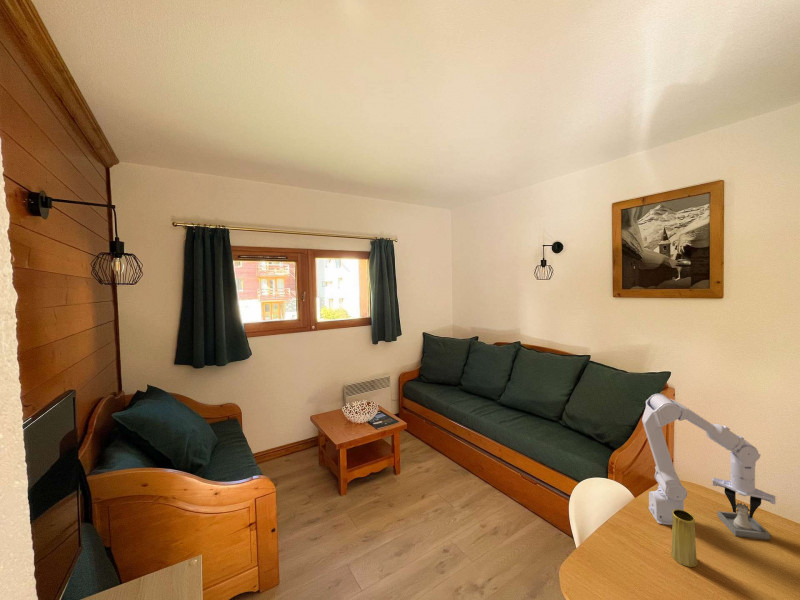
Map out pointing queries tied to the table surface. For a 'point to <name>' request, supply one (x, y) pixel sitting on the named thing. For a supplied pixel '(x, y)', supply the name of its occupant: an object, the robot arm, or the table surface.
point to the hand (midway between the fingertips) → (742, 513)
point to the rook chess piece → (742, 518)
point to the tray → (756, 531)
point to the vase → (683, 538)
